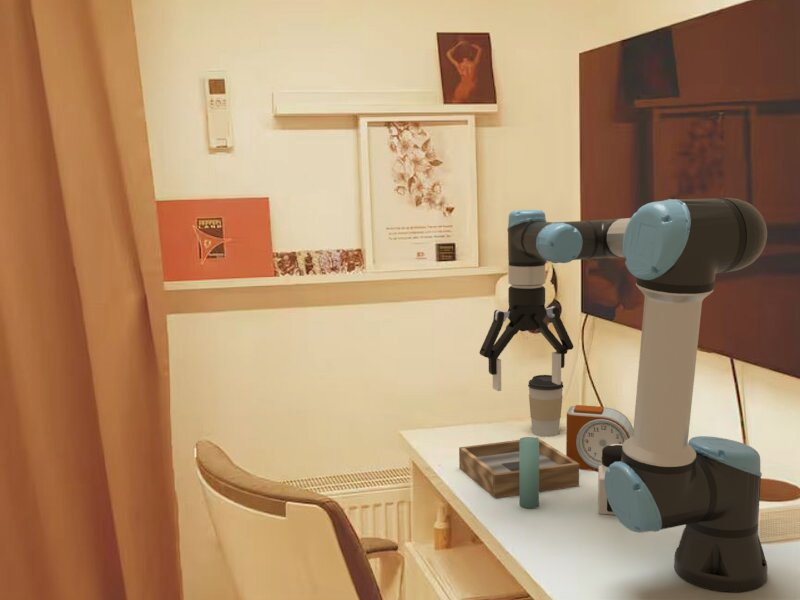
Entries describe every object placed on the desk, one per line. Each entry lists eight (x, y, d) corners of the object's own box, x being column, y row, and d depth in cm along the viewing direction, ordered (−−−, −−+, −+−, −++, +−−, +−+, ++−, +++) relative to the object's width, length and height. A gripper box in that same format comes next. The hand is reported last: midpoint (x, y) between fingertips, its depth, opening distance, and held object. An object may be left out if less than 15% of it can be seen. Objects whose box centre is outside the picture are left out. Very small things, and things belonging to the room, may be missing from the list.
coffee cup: (543, 425, 242) (544, 370, 240) (570, 432, 235) (570, 376, 233) (520, 432, 237) (520, 376, 234) (547, 440, 230) (547, 382, 227)
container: (638, 516, 181) (639, 454, 179) (598, 514, 182) (599, 452, 180) (636, 502, 188) (637, 441, 186) (597, 500, 190) (598, 440, 188)
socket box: (579, 485, 198) (579, 463, 197) (495, 498, 192) (494, 475, 191) (537, 457, 217) (537, 437, 216) (459, 468, 211) (459, 447, 210)
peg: (542, 507, 186) (542, 441, 184) (524, 509, 185) (524, 443, 183) (533, 500, 190) (533, 436, 188) (516, 502, 189) (516, 438, 187)
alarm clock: (564, 468, 209) (565, 411, 207) (570, 456, 217) (570, 401, 215) (630, 474, 204) (632, 416, 202) (633, 462, 212) (635, 406, 210)
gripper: (572, 279, 193) (571, 376, 196) (463, 287, 186) (464, 387, 189) (590, 283, 186) (589, 384, 189) (477, 291, 179) (478, 396, 182)
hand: (526, 386), depth 189 cm, fingers open, 13 cm apart
